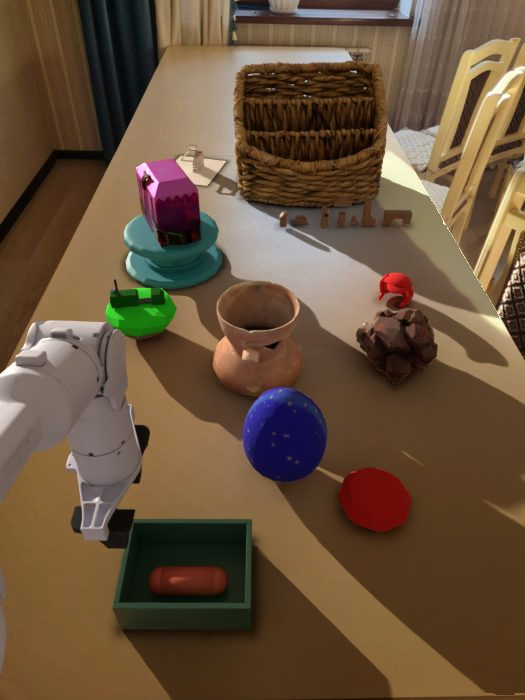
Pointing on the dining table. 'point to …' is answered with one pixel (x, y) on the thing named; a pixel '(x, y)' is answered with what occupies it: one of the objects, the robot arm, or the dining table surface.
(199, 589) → the red capsule pill
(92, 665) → the dining table surface
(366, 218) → the wooden blocks
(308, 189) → the basket
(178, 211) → the decorative object
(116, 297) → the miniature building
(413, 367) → the mineral specimen
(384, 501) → the gemstone
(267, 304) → the ceramic jug
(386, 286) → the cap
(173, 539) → the bin
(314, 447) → the ornament
